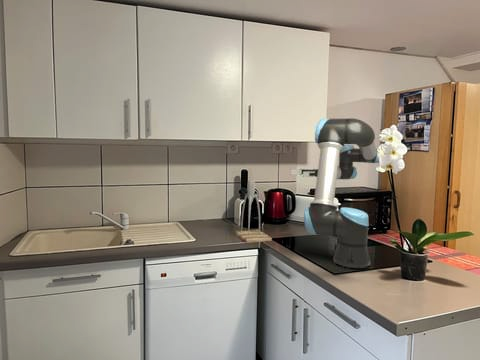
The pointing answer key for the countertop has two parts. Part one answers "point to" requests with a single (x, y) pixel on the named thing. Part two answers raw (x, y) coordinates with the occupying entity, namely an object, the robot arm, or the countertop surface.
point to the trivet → (253, 236)
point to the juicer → (250, 202)
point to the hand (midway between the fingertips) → (296, 173)
